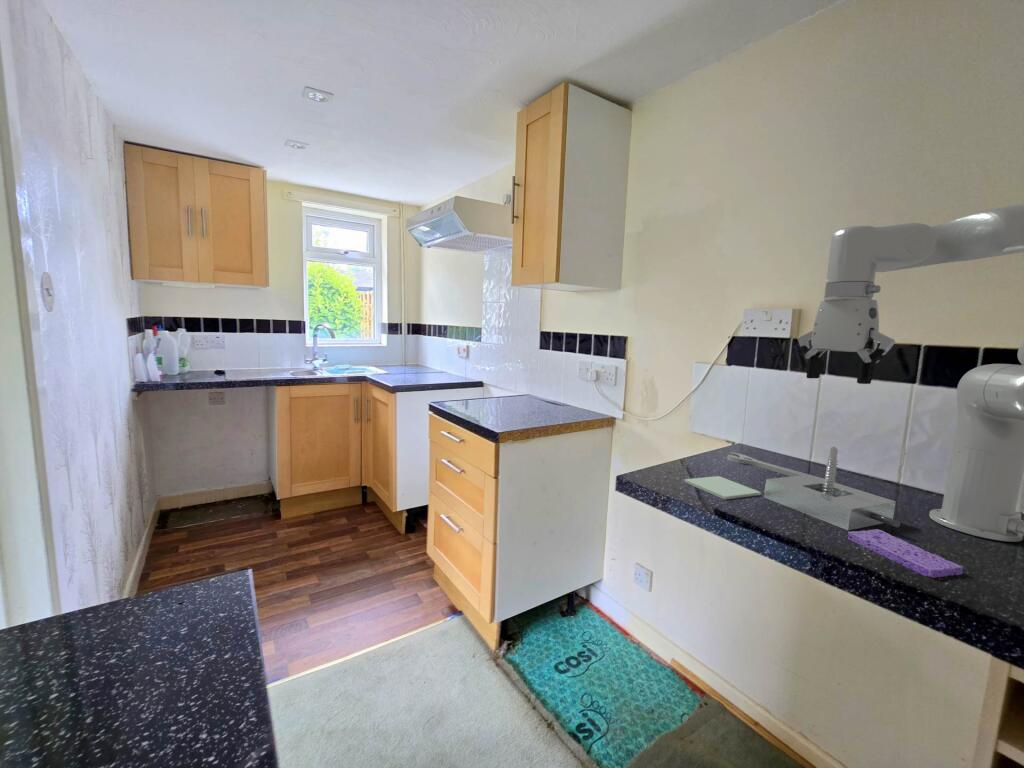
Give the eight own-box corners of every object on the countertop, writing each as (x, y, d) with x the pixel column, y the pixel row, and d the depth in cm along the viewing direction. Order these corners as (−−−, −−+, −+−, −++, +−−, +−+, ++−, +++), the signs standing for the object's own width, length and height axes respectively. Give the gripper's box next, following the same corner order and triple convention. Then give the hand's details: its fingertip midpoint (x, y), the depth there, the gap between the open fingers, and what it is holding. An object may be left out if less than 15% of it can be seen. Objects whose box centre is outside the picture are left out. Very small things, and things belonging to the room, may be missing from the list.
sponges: (876, 539, 79) (878, 528, 78) (963, 578, 67) (965, 566, 66) (845, 541, 77) (847, 530, 77) (929, 581, 65) (931, 569, 65)
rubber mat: (760, 494, 97) (761, 492, 97) (724, 499, 92) (725, 496, 92) (718, 478, 107) (718, 476, 106) (684, 481, 102) (684, 479, 102)
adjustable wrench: (829, 486, 108) (831, 479, 108) (815, 489, 105) (817, 482, 105) (734, 457, 130) (735, 451, 130) (720, 459, 127) (721, 453, 126)
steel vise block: (917, 530, 83) (921, 509, 82) (873, 540, 77) (877, 518, 76) (806, 491, 101) (809, 474, 101) (763, 497, 95) (766, 479, 95)
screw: (819, 503, 94) (844, 512, 90) (805, 505, 92) (830, 514, 88) (829, 443, 92) (855, 449, 88) (814, 444, 90) (840, 450, 86)
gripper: (912, 291, 80) (899, 386, 82) (816, 297, 96) (807, 376, 98) (887, 288, 77) (874, 386, 79) (792, 295, 93) (783, 376, 95)
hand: (837, 380), depth 89 cm, fingers open, 9 cm apart
